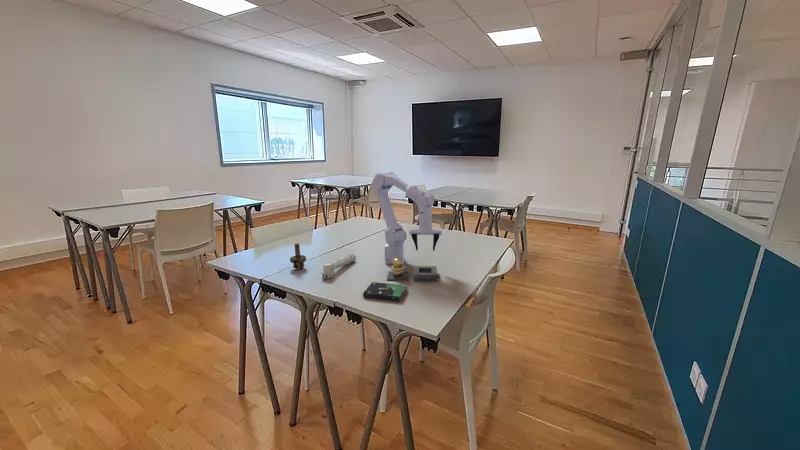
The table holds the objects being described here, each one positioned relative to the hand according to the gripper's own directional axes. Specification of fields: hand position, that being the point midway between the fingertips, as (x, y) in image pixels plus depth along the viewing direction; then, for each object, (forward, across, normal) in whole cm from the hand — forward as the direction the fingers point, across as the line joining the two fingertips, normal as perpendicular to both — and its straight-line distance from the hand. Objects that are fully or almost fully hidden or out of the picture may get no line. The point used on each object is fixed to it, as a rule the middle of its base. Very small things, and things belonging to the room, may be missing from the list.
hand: (425, 249), depth 148 cm
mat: (+10, -12, -9) cm, 18 cm away
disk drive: (+10, -15, -26) cm, 32 cm away
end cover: (+9, -12, -9) cm, 17 cm away
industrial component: (+10, -60, 0) cm, 61 cm away
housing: (+10, 0, -8) cm, 13 cm away
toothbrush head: (+10, -40, -2) cm, 41 cm away
